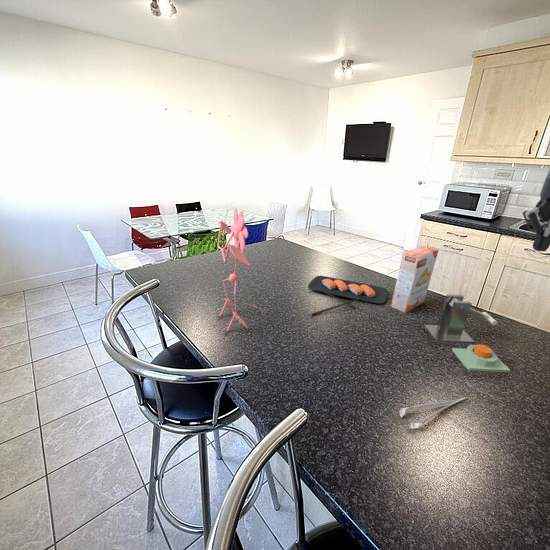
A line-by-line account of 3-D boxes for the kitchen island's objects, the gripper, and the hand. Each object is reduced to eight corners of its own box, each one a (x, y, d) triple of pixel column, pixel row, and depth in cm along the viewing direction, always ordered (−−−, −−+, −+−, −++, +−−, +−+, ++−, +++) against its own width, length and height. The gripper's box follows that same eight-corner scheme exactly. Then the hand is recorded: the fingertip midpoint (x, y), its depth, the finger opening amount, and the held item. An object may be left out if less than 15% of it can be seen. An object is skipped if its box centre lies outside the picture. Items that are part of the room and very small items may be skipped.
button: (484, 349, 77) (486, 344, 76) (493, 359, 73) (495, 353, 73) (470, 349, 77) (472, 343, 76) (478, 358, 74) (480, 352, 73)
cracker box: (406, 316, 98) (419, 257, 90) (389, 308, 102) (401, 252, 94) (425, 303, 106) (439, 249, 98) (409, 297, 110) (422, 244, 102)
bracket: (458, 329, 91) (470, 293, 86) (473, 345, 84) (487, 306, 79) (423, 328, 91) (432, 291, 86) (434, 343, 84) (446, 304, 79)
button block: (487, 354, 80) (492, 344, 79) (508, 375, 73) (512, 364, 71) (450, 353, 80) (454, 342, 79) (467, 373, 73) (471, 362, 71)
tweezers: (414, 432, 57) (417, 424, 56) (397, 413, 61) (399, 406, 60) (473, 410, 64) (476, 403, 63) (454, 395, 68) (456, 388, 67)
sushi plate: (388, 292, 114) (389, 283, 112) (378, 332, 89) (380, 321, 87) (316, 278, 125) (317, 270, 123) (290, 310, 100) (290, 300, 98)
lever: (483, 317, 87) (488, 311, 86) (493, 327, 83) (499, 320, 82) (446, 301, 86) (451, 295, 85) (455, 310, 81) (460, 303, 80)
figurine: (231, 348, 80) (226, 221, 66) (212, 304, 102) (204, 203, 88) (282, 336, 86) (287, 217, 72) (253, 297, 107) (253, 200, 93)
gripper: (552, 177, 62) (522, 254, 69) (616, 179, 61) (580, 256, 68) (525, 174, 69) (501, 244, 76) (583, 176, 68) (553, 246, 75)
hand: (539, 250), depth 72 cm, fingers closed
